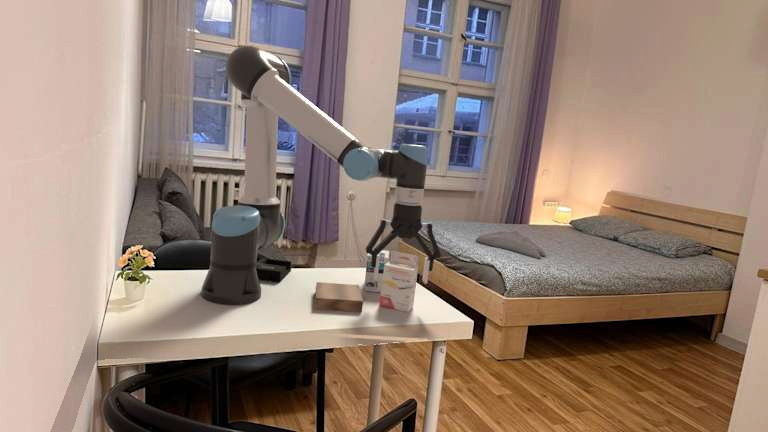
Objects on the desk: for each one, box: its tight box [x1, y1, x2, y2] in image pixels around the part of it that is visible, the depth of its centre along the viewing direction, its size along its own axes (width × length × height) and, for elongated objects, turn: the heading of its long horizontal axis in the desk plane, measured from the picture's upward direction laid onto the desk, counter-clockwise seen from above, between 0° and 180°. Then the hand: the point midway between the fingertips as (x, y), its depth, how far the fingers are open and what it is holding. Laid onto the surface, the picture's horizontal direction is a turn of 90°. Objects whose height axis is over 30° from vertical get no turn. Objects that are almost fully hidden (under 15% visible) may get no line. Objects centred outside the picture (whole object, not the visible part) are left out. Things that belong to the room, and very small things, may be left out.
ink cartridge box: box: [379, 250, 419, 313], centre depth 142 cm, size 9×5×15 cm, turn 71°
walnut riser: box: [314, 281, 364, 313], centre depth 141 cm, size 12×14×3 cm
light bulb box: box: [363, 249, 391, 294], centre depth 158 cm, size 11×7×11 cm, turn 179°
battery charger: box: [256, 257, 292, 284], centre depth 159 cm, size 13×10×4 cm
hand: (400, 280), depth 142 cm, fingers open, 13 cm apart
